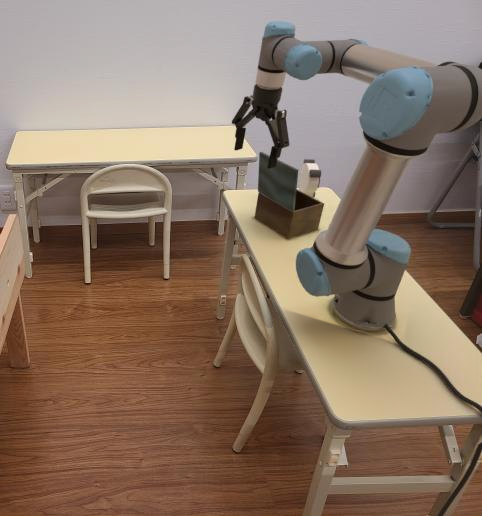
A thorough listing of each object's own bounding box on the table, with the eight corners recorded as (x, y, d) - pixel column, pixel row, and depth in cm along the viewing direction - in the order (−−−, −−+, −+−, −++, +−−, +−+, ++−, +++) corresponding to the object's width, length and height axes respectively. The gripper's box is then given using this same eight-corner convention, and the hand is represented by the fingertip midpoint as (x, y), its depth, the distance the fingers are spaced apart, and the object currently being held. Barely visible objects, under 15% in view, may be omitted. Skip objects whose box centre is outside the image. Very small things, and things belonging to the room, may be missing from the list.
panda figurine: (323, 210, 178) (333, 171, 170) (291, 209, 178) (299, 170, 170) (315, 196, 188) (324, 158, 180) (285, 194, 188) (292, 157, 180)
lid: (261, 151, 158) (259, 152, 158) (298, 169, 146) (296, 170, 146) (259, 190, 167) (257, 191, 167) (294, 210, 155) (292, 211, 155)
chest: (283, 209, 178) (288, 184, 173) (318, 229, 166) (324, 203, 161) (254, 217, 173) (258, 192, 167) (287, 239, 160) (293, 212, 155)
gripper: (314, 97, 126) (295, 172, 139) (245, 70, 142) (234, 139, 155) (295, 102, 122) (277, 178, 135) (226, 74, 138) (216, 144, 151)
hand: (254, 158), depth 145 cm, fingers open, 13 cm apart
